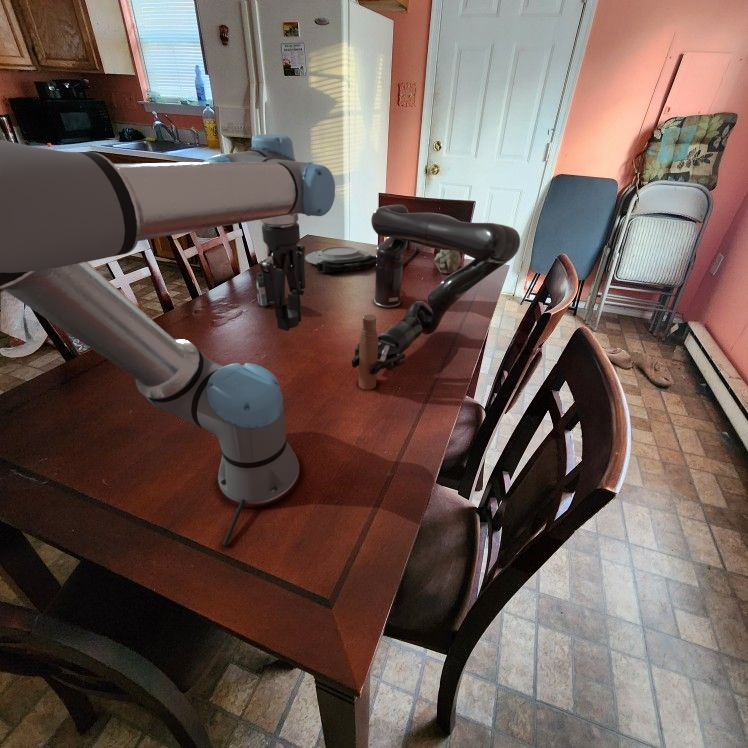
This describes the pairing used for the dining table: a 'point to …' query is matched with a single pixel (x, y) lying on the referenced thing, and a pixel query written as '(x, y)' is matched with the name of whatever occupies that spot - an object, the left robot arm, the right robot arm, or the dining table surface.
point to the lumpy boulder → (447, 261)
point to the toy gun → (261, 290)
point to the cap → (293, 318)
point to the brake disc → (341, 259)
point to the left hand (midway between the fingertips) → (289, 324)
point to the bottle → (368, 352)
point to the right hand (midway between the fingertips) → (362, 367)
